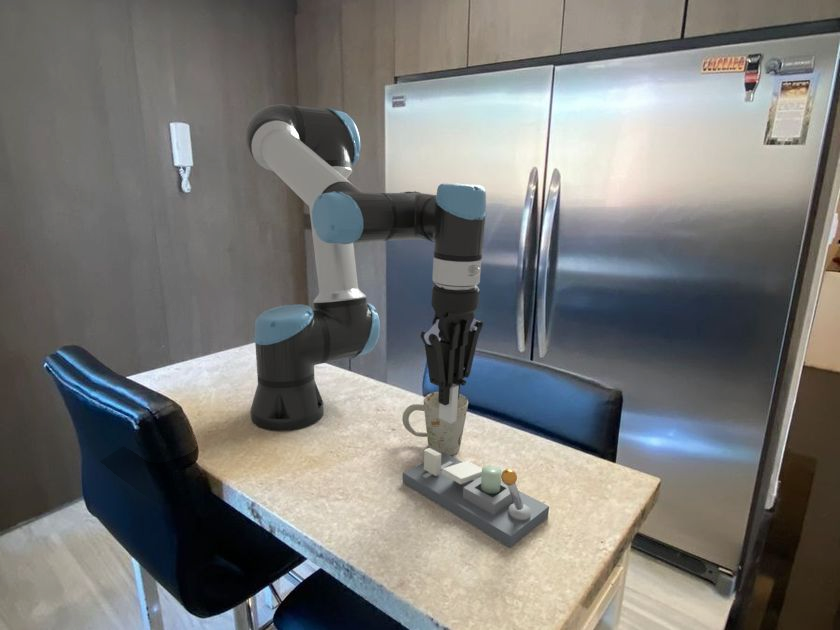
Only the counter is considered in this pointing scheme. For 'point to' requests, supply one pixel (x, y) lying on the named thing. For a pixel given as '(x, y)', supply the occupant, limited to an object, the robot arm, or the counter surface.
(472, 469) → the plate
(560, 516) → the counter surface
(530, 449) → the counter surface
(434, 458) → the slider
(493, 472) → the button
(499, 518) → the panel
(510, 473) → the lever
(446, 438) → the mug
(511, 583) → the counter surface
